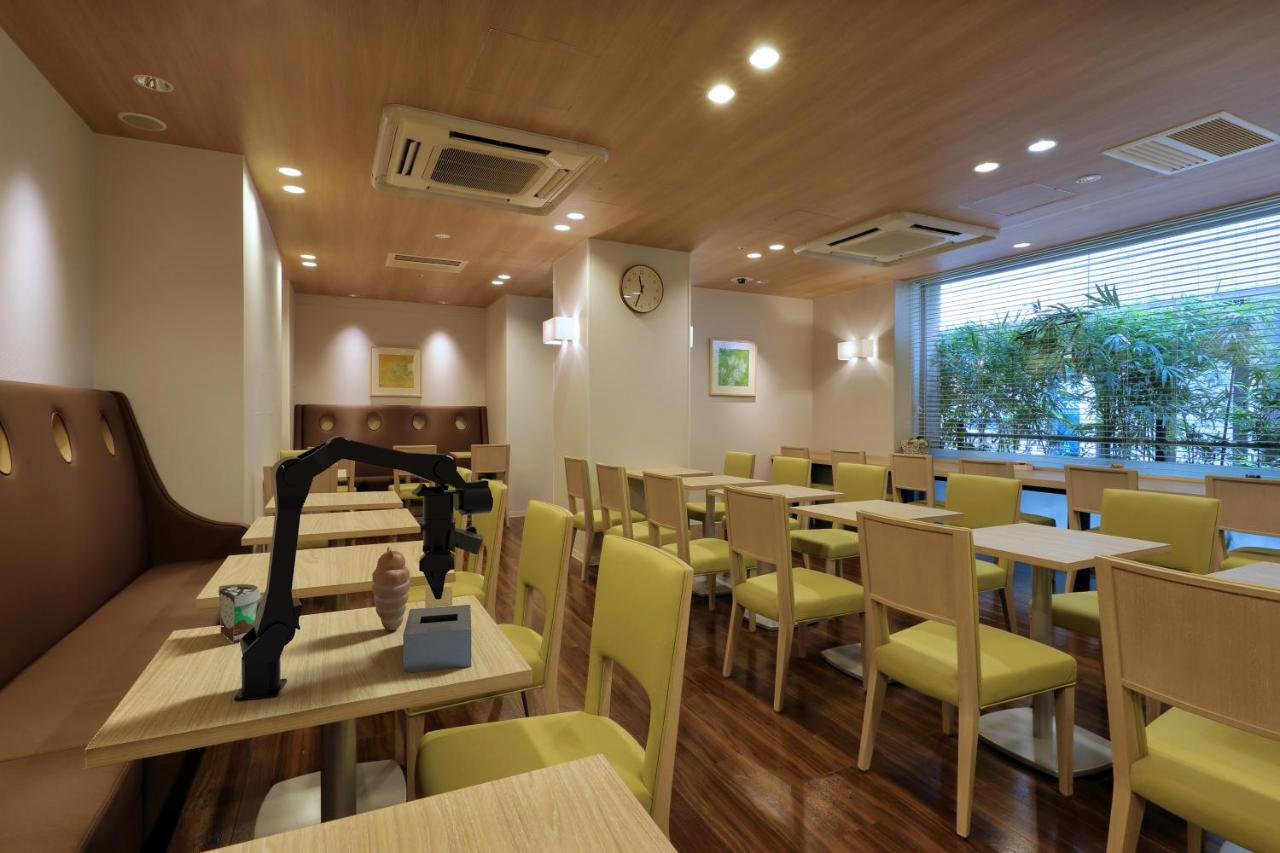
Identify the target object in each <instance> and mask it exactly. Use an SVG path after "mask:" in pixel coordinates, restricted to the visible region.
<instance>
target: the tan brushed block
mask: <svg viewBox="0 0 1280 853" xmlns="http://www.w3.org/2000/svg"><path fill="white" fill-rule="evenodd" d="M424 591H425V592H424V593H425V596H424V598H425V603H424V606H425V607H424V608H431V607H445V606H453V585H452V586H444V588H443V593H442V598H441V599H435V597H434V595H433V593H432V590H431V588H430V587H427V588H425V590H424Z"/></svg>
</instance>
